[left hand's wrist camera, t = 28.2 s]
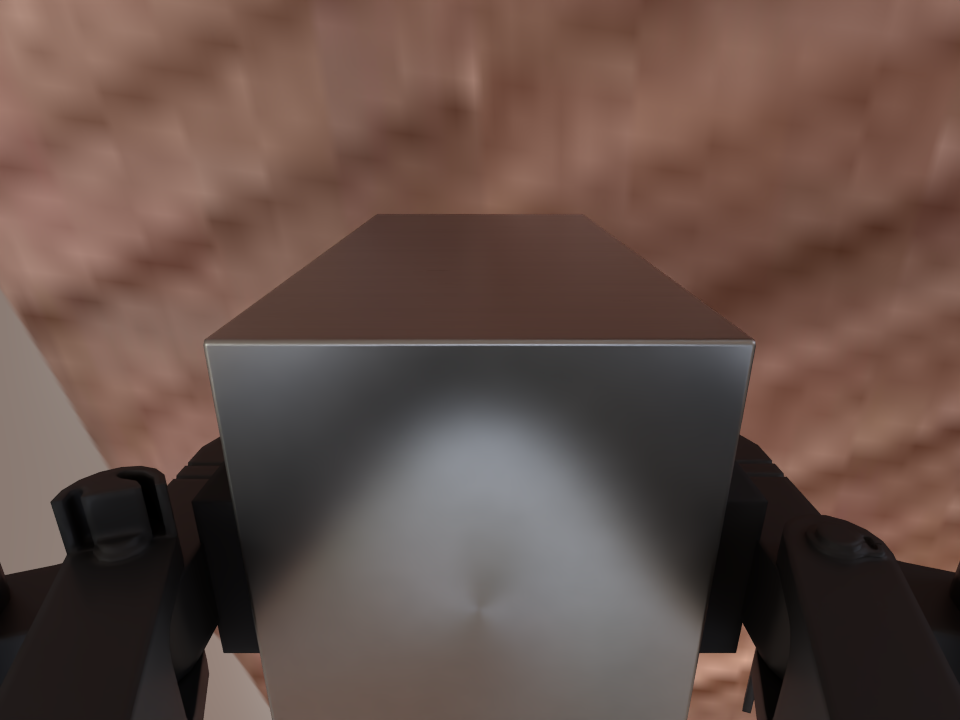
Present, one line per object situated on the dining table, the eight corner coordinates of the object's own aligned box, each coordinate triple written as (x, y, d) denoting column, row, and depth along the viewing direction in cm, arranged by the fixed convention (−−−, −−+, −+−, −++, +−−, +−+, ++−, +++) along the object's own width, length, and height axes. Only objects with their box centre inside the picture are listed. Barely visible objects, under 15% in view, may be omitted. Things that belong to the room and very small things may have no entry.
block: (584, 213, 17) (759, 340, 6) (570, 442, 20) (674, 797, 9) (375, 213, 17) (199, 340, 6) (390, 442, 20) (284, 797, 9)
